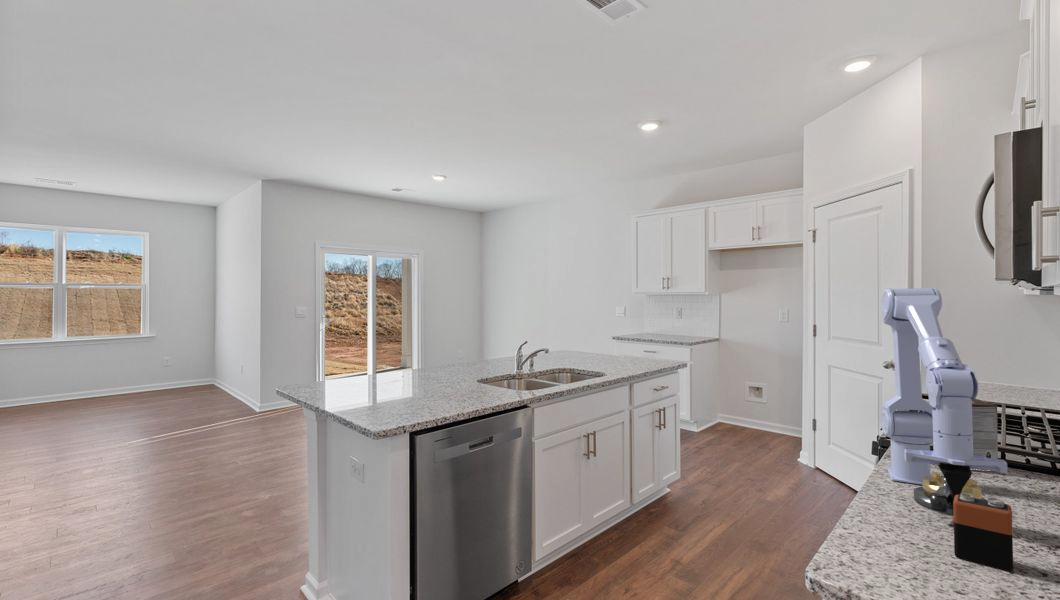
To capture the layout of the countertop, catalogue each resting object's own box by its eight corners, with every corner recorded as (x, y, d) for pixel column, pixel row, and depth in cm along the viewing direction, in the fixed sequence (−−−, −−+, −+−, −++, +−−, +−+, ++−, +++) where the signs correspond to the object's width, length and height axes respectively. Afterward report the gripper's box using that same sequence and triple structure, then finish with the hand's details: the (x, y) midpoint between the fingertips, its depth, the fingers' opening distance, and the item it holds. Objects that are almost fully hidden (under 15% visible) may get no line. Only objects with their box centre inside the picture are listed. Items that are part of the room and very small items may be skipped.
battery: (1013, 573, 74) (1011, 507, 74) (954, 557, 79) (952, 495, 79) (1012, 561, 78) (1011, 498, 78) (955, 547, 82) (954, 488, 82)
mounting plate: (909, 489, 107) (909, 482, 107) (983, 500, 101) (983, 492, 101) (918, 509, 97) (918, 501, 97) (1000, 523, 91) (1000, 514, 91)
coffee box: (945, 459, 127) (943, 396, 127) (973, 460, 125) (972, 397, 125) (969, 471, 118) (967, 404, 118) (1000, 472, 116) (998, 404, 116)
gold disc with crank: (928, 484, 105) (927, 467, 105) (985, 497, 98) (984, 478, 98) (907, 507, 94) (906, 488, 94) (969, 523, 87) (969, 502, 87)
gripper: (907, 432, 93) (909, 504, 92) (1011, 442, 85) (1014, 521, 85) (902, 424, 99) (904, 492, 99) (999, 433, 91) (1002, 506, 91)
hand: (954, 504), depth 92 cm, fingers closed, pressing on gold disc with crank
